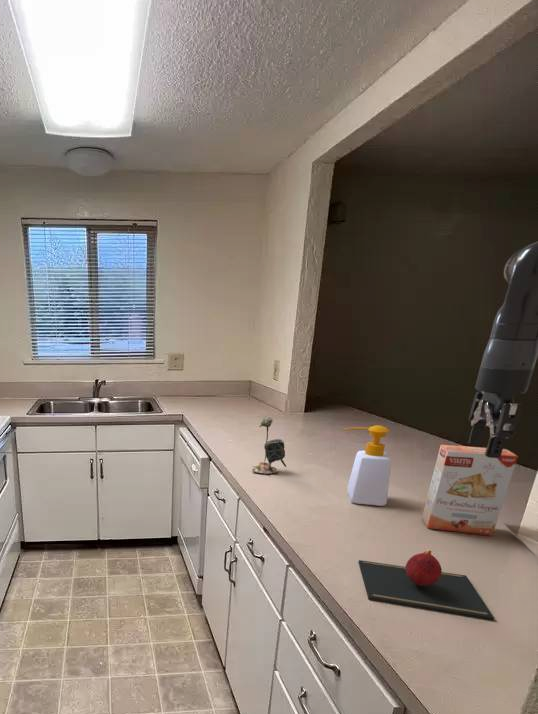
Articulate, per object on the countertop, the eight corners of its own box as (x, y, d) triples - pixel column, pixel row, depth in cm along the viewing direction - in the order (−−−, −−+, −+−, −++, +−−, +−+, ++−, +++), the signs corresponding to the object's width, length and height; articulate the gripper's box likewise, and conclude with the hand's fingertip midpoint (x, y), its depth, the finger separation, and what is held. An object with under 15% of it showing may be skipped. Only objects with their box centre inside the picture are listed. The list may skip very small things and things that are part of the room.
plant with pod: (283, 477, 145) (290, 419, 138) (249, 472, 150) (254, 416, 143) (286, 470, 152) (293, 414, 145) (254, 465, 156) (259, 411, 149)
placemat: (465, 577, 89) (466, 574, 89) (493, 620, 77) (494, 617, 77) (358, 562, 95) (358, 559, 95) (368, 599, 83) (369, 596, 83)
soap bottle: (330, 490, 134) (341, 420, 126) (380, 495, 130) (394, 422, 122) (333, 502, 125) (345, 427, 118) (387, 508, 121) (403, 431, 114)
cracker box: (427, 529, 109) (447, 450, 102) (420, 519, 114) (439, 443, 107) (494, 537, 105) (519, 455, 98) (483, 526, 110) (507, 447, 103)
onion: (439, 597, 82) (449, 561, 79) (404, 590, 85) (412, 554, 82) (433, 581, 87) (443, 546, 84) (400, 574, 89) (409, 540, 87)
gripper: (553, 370, 71) (524, 463, 77) (514, 361, 84) (491, 442, 89) (498, 369, 73) (473, 460, 79) (468, 361, 86) (448, 439, 92)
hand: (483, 450), depth 84 cm, fingers open, 8 cm apart
